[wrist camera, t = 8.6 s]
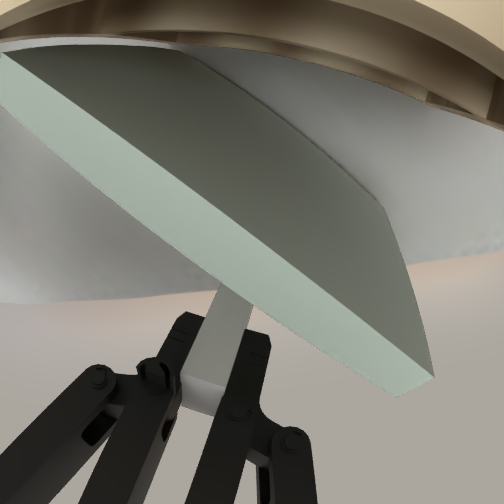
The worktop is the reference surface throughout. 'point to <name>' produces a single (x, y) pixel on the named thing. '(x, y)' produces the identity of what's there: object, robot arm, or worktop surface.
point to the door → (230, 195)
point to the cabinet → (312, 38)
